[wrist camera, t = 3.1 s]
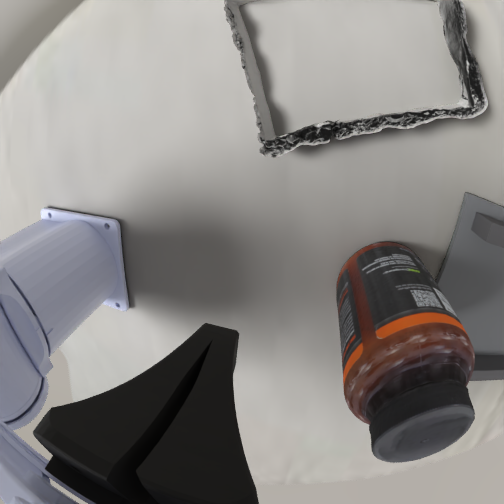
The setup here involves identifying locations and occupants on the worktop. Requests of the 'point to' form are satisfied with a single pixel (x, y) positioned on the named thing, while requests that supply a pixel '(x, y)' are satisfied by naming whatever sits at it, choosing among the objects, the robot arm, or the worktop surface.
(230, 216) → the worktop surface
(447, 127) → the worktop surface
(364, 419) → the supplement bottle
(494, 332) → the mat
